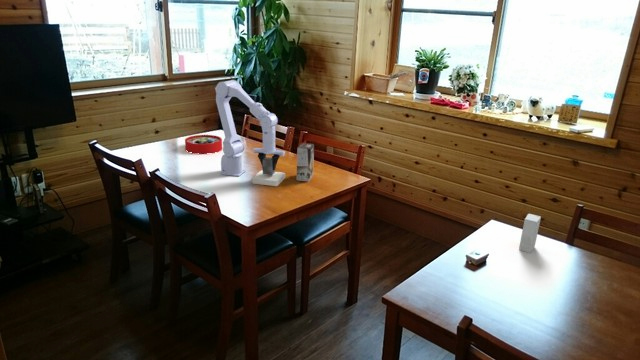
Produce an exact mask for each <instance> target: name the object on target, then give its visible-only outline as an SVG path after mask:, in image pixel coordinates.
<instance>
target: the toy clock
mask: <svg viewBox="0 0 640 360" xmlns="http://www.w3.org/2000/svg"><path fill="white" fill-rule="evenodd" d="M184 143H185V144H184V145H185V146H184V147H185V148H184V149H185V151H186V150H187V151H188V152H187V151H186V152H187V153H189V152H192V153H191V154H193V153H199V154H198V155H208V154H207V153H212V154H216V153H215V152H217V153H218V152H221V151H223V139H222V137H221V136H218V135H214V134H213V135H212V134H196V135H191V136H188V137H186V138H185V139H184Z"/></svg>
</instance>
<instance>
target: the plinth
mask: <svg viewBox="0 0 640 360" xmlns="http://www.w3.org/2000/svg"><path fill="white" fill-rule="evenodd" d="M285 179H286V172H281V171H275V173H274V174H273V175H266V174H263V169H261V170H259V171H258V172H257V173H256V174H255V175H254V176H253V177H252V178H251V183H252V184H253V185H254V184H255V185H265V186H269V187H270V186H271V187H278V186H279V185H280V184H281V183H282V182H283V180H285Z"/></svg>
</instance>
